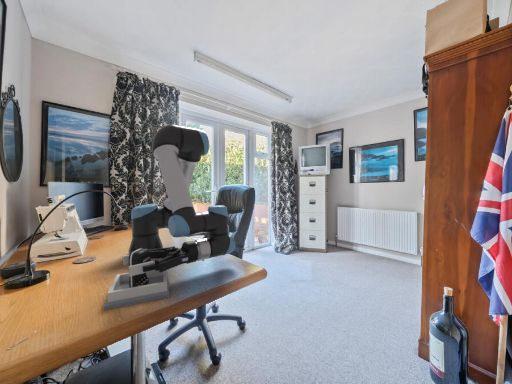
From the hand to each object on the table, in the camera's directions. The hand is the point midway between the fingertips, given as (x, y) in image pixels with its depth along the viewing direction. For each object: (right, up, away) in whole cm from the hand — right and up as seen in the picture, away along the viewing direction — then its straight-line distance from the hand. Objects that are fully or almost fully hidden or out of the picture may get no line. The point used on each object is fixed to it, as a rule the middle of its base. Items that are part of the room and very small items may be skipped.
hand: (125, 265), depth 67 cm
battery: (+3, -8, +2) cm, 9 cm away
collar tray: (+3, -8, +3) cm, 9 cm away
